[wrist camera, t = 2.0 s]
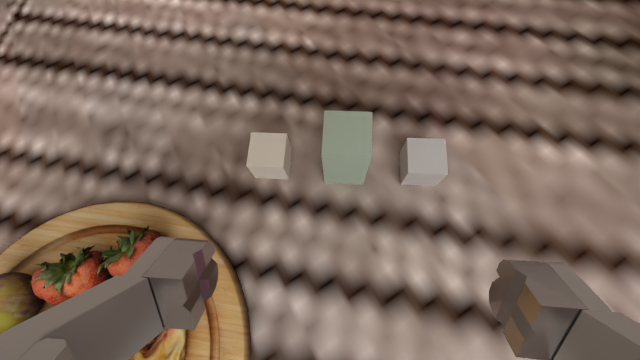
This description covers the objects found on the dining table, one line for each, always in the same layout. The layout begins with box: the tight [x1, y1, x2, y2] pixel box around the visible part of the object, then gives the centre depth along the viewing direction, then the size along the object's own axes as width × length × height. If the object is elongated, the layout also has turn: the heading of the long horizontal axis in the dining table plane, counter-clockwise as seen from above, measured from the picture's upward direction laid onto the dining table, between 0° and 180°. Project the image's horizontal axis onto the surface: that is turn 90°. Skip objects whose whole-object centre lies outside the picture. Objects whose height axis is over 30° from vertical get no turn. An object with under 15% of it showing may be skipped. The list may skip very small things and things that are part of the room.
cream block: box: [246, 132, 292, 179], centre depth 34 cm, size 4×4×4 cm
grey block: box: [400, 138, 448, 186], centre depth 33 cm, size 4×4×4 cm
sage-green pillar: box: [321, 110, 372, 185], centre depth 32 cm, size 4×4×8 cm
